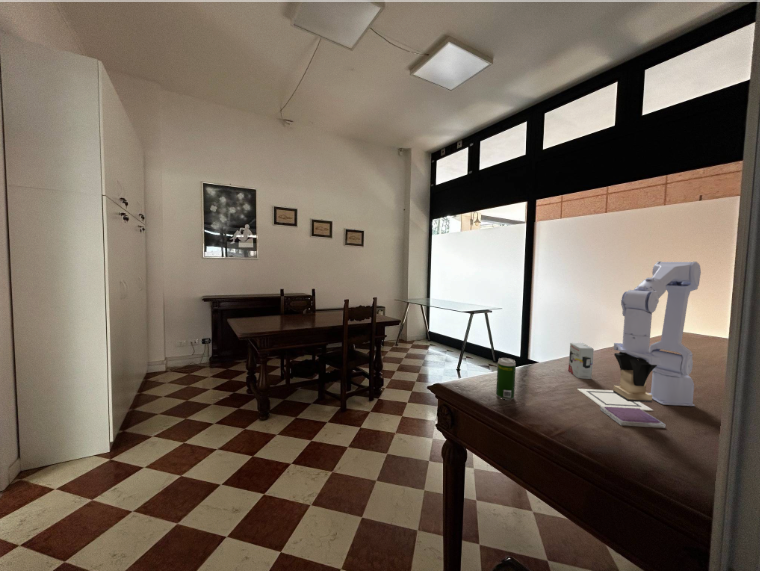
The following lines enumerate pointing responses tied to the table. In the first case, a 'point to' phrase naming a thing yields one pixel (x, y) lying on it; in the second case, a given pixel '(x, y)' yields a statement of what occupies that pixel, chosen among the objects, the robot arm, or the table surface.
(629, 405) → the paper sheet
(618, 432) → the table surface
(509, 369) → the green canister
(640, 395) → the wooden stamp
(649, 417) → the ink pad
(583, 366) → the ink box
